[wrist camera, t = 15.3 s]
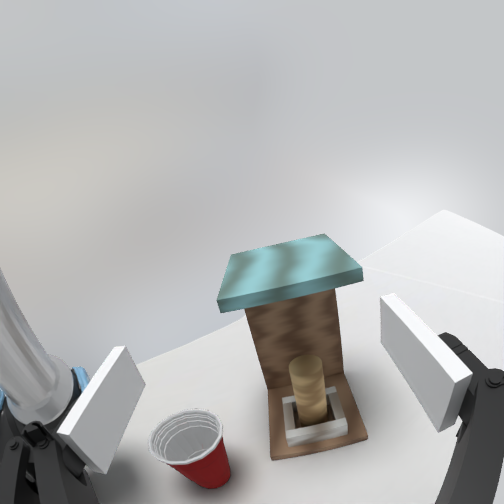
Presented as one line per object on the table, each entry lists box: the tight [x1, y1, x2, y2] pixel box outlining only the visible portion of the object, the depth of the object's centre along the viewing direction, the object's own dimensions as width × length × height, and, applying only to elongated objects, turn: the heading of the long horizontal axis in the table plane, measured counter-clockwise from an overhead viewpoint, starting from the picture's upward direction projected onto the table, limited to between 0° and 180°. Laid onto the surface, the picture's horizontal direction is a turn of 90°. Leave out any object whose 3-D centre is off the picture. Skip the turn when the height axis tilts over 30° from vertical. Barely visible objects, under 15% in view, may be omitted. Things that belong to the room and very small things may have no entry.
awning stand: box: [217, 234, 368, 460], centre depth 39 cm, size 15×18×28 cm
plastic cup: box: [148, 408, 230, 489], centre depth 31 cm, size 11×11×12 cm
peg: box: [289, 355, 328, 428], centre depth 37 cm, size 5×5×13 cm
